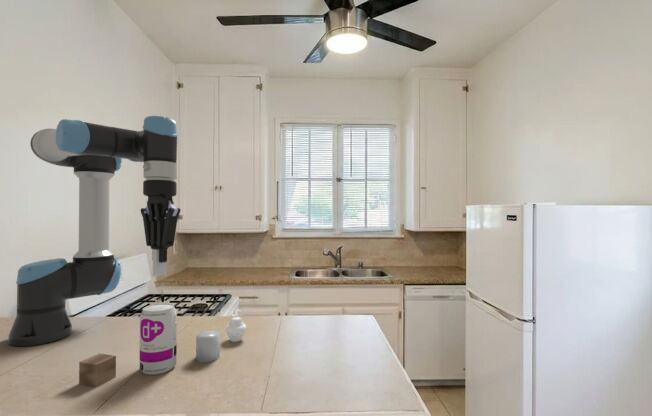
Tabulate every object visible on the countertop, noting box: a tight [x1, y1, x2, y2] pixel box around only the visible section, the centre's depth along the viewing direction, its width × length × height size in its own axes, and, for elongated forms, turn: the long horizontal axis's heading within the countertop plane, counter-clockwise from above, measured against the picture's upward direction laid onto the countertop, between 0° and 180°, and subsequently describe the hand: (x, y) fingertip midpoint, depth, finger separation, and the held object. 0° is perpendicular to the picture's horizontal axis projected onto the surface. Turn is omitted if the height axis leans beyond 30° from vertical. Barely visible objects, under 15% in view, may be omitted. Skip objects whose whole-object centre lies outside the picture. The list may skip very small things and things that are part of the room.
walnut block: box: [78, 352, 117, 388], centre depth 80 cm, size 5×5×5 cm
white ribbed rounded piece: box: [225, 316, 247, 343], centre depth 106 cm, size 6×6×7 cm
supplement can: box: [138, 303, 178, 376], centre depth 87 cm, size 8×8×15 cm
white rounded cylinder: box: [195, 330, 221, 363], centre depth 93 cm, size 6×6×6 cm
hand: (159, 275), depth 87 cm, fingers closed
